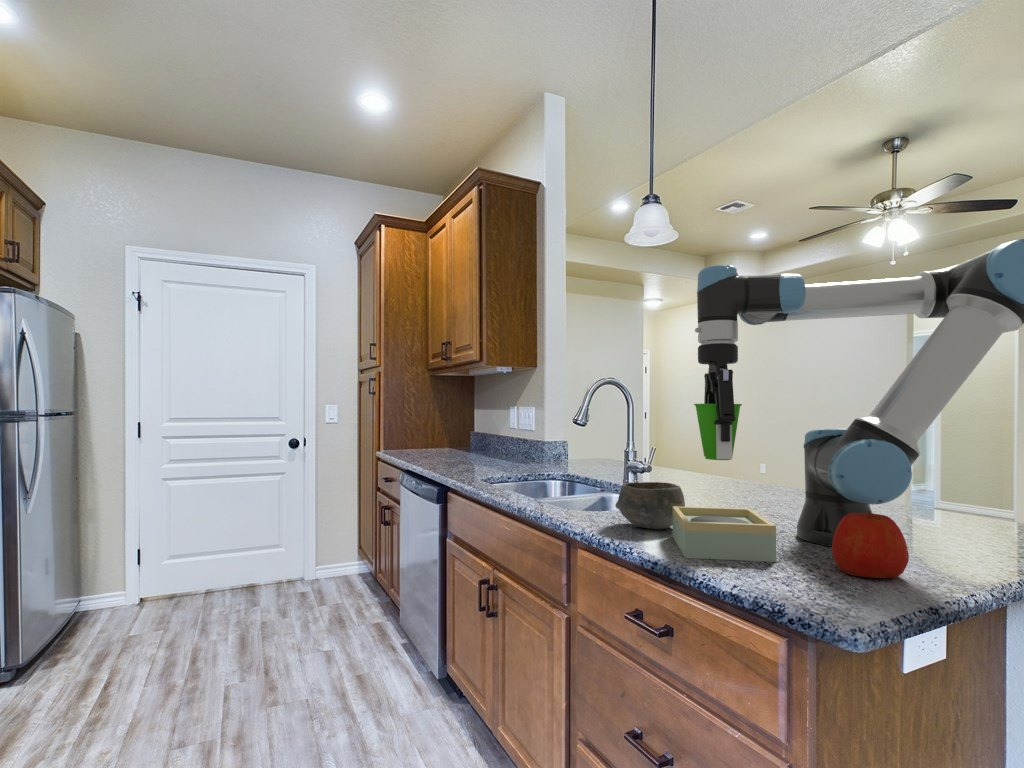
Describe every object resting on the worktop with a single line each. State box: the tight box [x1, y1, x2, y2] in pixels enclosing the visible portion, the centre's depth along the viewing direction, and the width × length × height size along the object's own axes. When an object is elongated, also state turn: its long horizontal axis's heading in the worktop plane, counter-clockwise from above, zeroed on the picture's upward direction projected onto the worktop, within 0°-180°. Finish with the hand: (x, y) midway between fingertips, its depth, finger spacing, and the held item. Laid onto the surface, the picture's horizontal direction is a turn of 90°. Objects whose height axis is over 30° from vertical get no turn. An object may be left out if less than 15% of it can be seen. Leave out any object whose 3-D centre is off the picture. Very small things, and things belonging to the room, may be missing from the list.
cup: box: [693, 403, 743, 461], centre depth 107 cm, size 9×9×11 cm
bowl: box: [614, 481, 686, 530], centre depth 124 cm, size 14×15×10 cm
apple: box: [831, 511, 910, 579], centre depth 90 cm, size 11×11×11 cm
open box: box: [672, 506, 777, 563], centre depth 106 cm, size 16×16×6 cm
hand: (718, 456), depth 107 cm, fingers closed on cup, 9 cm apart
